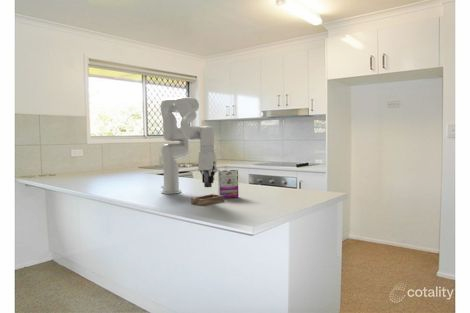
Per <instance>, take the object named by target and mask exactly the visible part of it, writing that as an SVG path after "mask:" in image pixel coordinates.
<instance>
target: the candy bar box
mask: <svg viewBox="0 0 470 313" xmlns="http://www.w3.org/2000/svg"><path fill="white" fill-rule="evenodd" d="M217 179H218V180H217V181H218V184H217V185H218V195H223V196H224V199H232V198H233V199H235V198H239V170H238V169H237V168H236V169H235V168H232V169H218V171H217Z"/></svg>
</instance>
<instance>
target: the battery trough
mask: <svg viewBox="0 0 470 313" xmlns="http://www.w3.org/2000/svg"><path fill="white" fill-rule="evenodd" d="M190 201H191V202H190V203H191V204H192V205H197V206H203V207H204V206H208V205H213V204H218V203H221V202H224V201H225V198H224V196H223V195H219V194H214V193H211V194H210V193H209V194H206V195H201V196H196V197H191V198H190Z"/></svg>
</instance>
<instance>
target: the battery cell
mask: <svg viewBox="0 0 470 313" xmlns="http://www.w3.org/2000/svg"><path fill="white" fill-rule="evenodd" d="M208 177H209V171H208V170H204V183H203V184H204V185H203V187H204V188H212V184H213V183H210V184H209V180H208Z"/></svg>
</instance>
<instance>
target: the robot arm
mask: <svg viewBox="0 0 470 313" xmlns="http://www.w3.org/2000/svg"><path fill="white" fill-rule="evenodd" d="M199 107H200V104H199V101H198V99H197V98H195V97H191V96H190V97H189V96H180V97H177V98H165V99H163V100H162V101H161V103H160V112H161V114H160V115H161V117H162V129H163V130H162V132H163V134H162V135H163V139H164V141H166V142H171V143H165V144H163V145H162V146H161V149H160V150H161V156H162V164H163V166H162V168H163V170H162V172H163V185H162V186H161V187H160V188H161V189H162V190H161V194H163V195H173V194H174V195H175V194H180V193H182V190H181V189H180V182H179V181H180V180H179V178H180V177H179V175H180V174H179V173H180V172H179V163H178V162H177V160H176V159H183V158H184V159H185V158H186V157H188V155H189V141H199V152H198V161H197V170H198V171H199V173H200V174H201V176H202V177H201V179H202V181H201V182H202V184H204V170H208V171H209V177H208V180H209V184H210V183H212V184H214V176H215V174H216V173H218V170H219V169H218V167H217V157H216V152H215V130H214V127H213V126H210V125H209V126H208V125H207V126H197V125H196V126H193V125H192V126H191V125H190V123H193V122H194V121H195V120H196V118H197V111H198V110H199ZM174 113H176V114H177V113H178V114H179V115H180V118H181V120H180V126H178V124H177V118H176V116H175V114H174ZM172 142H173V143H172ZM174 142H175V143H174Z"/></svg>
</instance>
